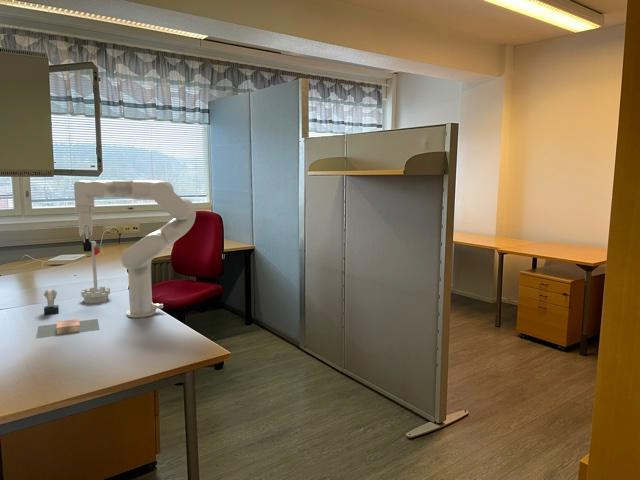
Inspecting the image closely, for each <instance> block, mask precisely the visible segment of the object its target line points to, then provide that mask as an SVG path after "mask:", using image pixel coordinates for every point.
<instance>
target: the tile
mask: <svg viewBox="0 0 640 480" xmlns="http://www.w3.org/2000/svg"><path fill="white" fill-rule="evenodd" d="M79 321H80V318H76V319H69V320H68V319H67V320H60V321H56V322H57V323H56V324H57V334H62V333H70V332H77V331H80V323H79Z"/></svg>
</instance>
